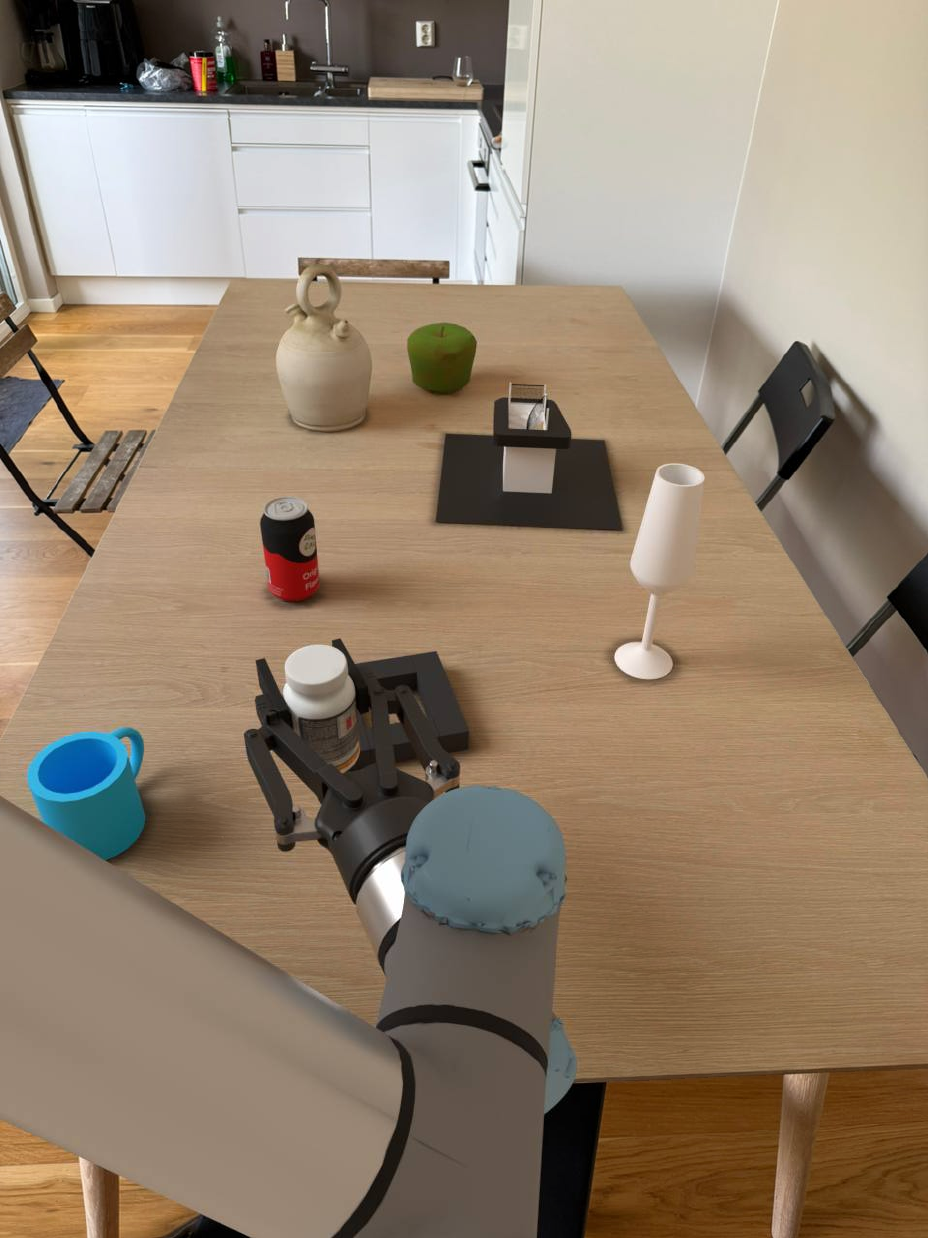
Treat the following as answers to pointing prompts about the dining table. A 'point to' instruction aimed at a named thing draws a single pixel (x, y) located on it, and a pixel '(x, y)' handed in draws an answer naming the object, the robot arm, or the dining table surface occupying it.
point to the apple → (441, 357)
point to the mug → (91, 789)
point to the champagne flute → (663, 558)
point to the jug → (323, 361)
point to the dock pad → (435, 699)
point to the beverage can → (290, 549)
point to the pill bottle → (323, 704)
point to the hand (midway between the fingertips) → (300, 662)
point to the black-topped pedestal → (527, 471)
